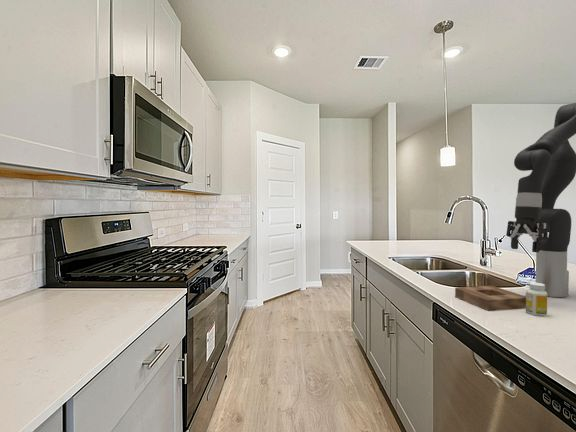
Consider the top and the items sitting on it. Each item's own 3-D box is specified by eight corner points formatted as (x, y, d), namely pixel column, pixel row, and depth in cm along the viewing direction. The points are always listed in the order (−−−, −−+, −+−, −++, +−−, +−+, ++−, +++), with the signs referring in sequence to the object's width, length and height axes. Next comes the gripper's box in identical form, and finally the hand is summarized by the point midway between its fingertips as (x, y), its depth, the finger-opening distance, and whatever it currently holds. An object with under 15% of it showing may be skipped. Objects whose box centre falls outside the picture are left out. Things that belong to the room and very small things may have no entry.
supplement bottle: (523, 313, 102) (524, 283, 102) (528, 309, 105) (528, 280, 105) (544, 317, 98) (545, 286, 98) (548, 313, 101) (549, 284, 101)
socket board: (492, 294, 123) (492, 285, 123) (530, 307, 107) (530, 297, 107) (455, 296, 120) (455, 287, 120) (488, 310, 104) (488, 300, 104)
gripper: (556, 206, 108) (552, 254, 108) (519, 206, 122) (516, 248, 122) (537, 205, 107) (533, 253, 107) (502, 205, 121) (499, 247, 121)
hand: (524, 250), depth 115 cm, fingers open, 8 cm apart
